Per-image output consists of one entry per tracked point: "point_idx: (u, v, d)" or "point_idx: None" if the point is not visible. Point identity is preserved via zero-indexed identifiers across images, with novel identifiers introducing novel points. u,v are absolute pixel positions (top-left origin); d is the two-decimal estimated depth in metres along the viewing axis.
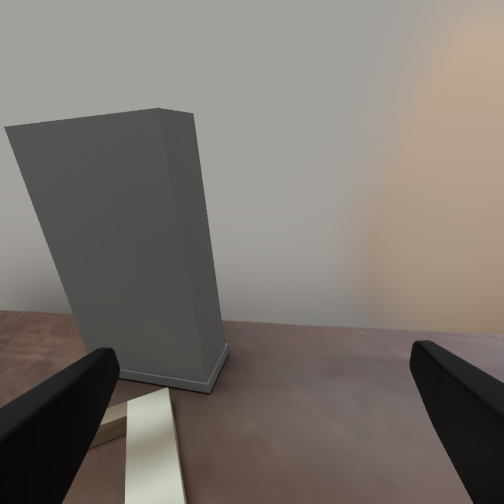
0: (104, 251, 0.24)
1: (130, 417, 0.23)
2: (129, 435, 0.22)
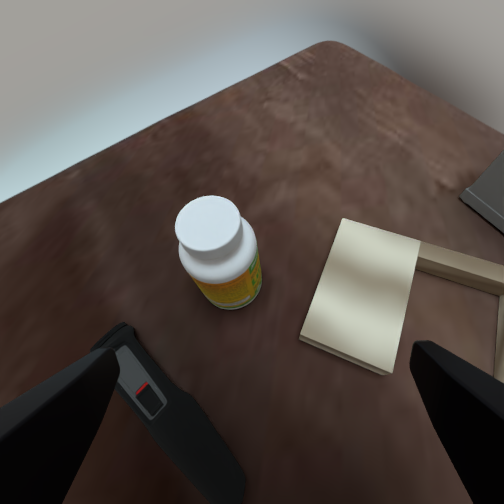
0: None
1: None
2: None
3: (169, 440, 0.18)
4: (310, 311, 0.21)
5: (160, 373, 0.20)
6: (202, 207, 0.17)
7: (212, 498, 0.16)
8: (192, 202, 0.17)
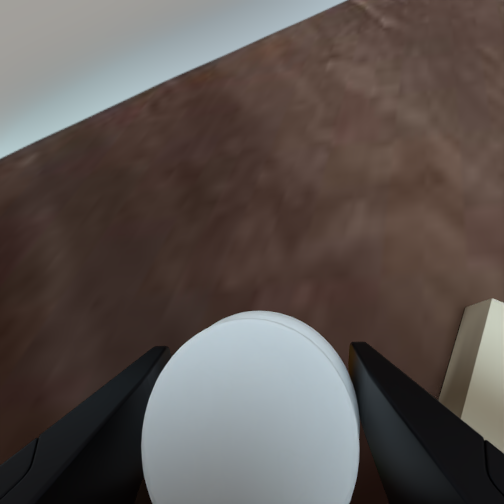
0: None
1: None
2: None
3: None
4: None
5: None
6: (232, 365, 0.05)
7: None
8: (202, 338, 0.06)
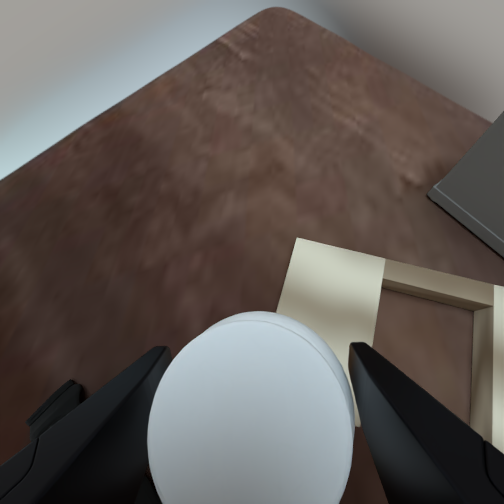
0: None
1: (498, 312, 0.18)
2: (497, 337, 0.18)
3: None
4: None
5: None
6: (233, 365, 0.06)
7: None
8: (204, 339, 0.06)
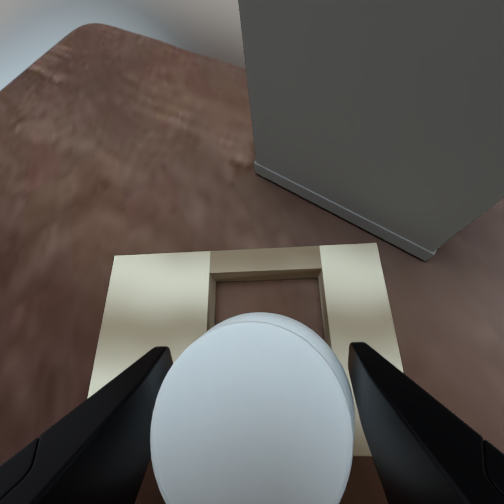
0: None
1: (327, 274, 0.17)
2: (329, 300, 0.16)
3: None
4: None
5: None
6: (234, 366, 0.06)
7: None
8: (206, 341, 0.06)
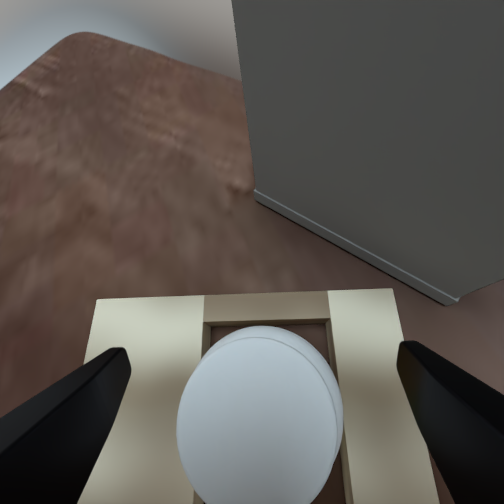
0: None
1: (336, 325, 0.15)
2: (339, 357, 0.14)
3: None
4: None
5: None
6: (243, 374, 0.07)
7: None
8: (220, 353, 0.07)
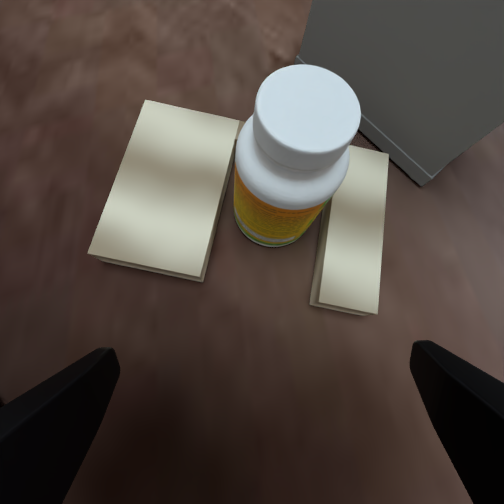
0: None
1: None
2: None
3: None
4: (101, 223, 0.16)
5: None
6: (305, 81, 0.10)
7: None
8: (292, 67, 0.11)
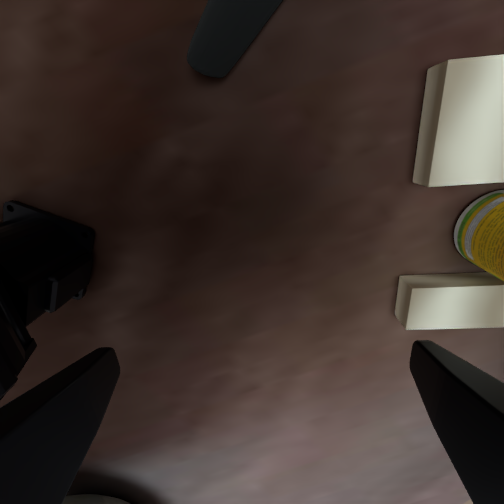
0: None
1: None
2: None
3: None
4: (486, 59, 0.14)
5: None
6: None
7: (198, 34, 0.14)
8: None
